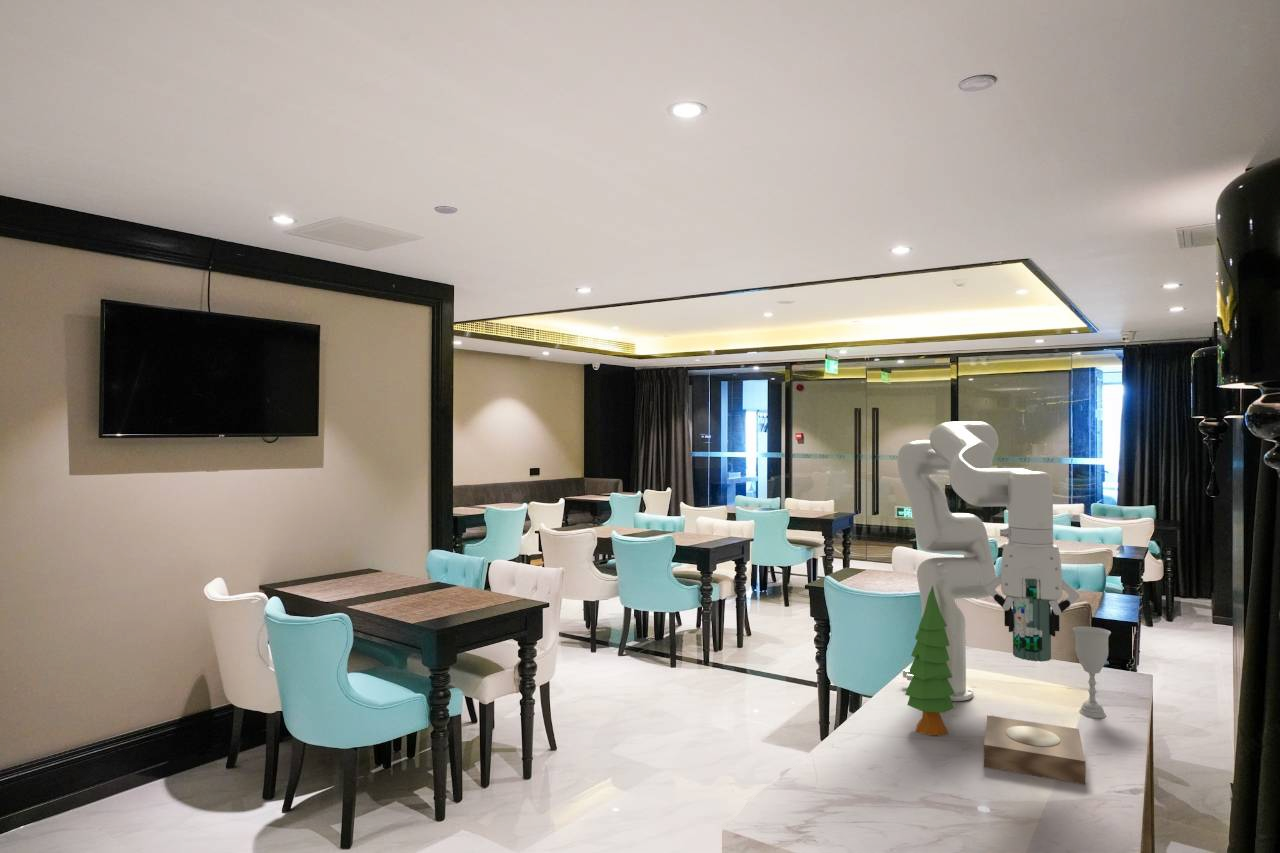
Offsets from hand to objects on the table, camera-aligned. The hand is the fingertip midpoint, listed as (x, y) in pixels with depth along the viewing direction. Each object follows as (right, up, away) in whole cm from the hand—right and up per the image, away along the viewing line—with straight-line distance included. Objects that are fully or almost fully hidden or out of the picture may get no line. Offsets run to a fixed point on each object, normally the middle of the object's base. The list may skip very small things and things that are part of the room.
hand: (1031, 631), depth 141 cm
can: (0, -5, 0) cm, 5 cm away
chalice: (+25, -24, +22) cm, 41 cm away
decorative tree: (-14, -24, +14) cm, 31 cm away
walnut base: (0, -24, 0) cm, 24 cm away
